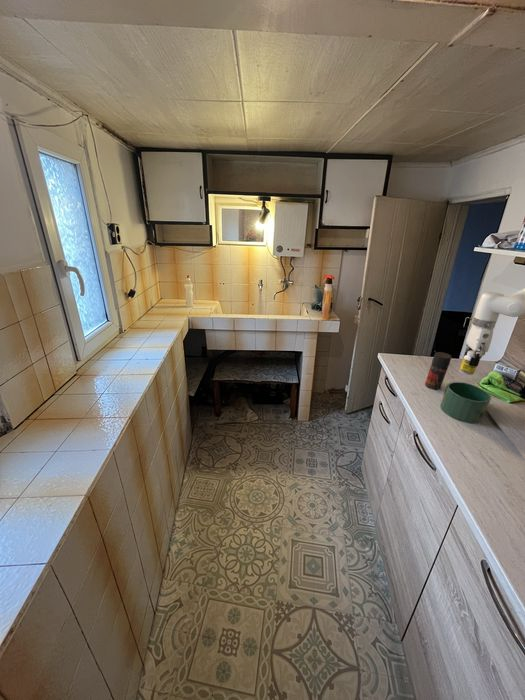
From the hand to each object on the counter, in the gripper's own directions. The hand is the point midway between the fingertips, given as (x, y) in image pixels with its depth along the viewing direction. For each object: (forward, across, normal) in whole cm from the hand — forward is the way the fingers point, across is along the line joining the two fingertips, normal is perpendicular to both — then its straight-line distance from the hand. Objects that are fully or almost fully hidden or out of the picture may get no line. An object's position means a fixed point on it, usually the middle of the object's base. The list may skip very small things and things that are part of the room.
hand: (469, 362), depth 122 cm
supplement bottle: (+5, 0, 0) cm, 5 cm away
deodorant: (+10, -8, +15) cm, 20 cm away
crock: (+10, -26, +10) cm, 29 cm away
